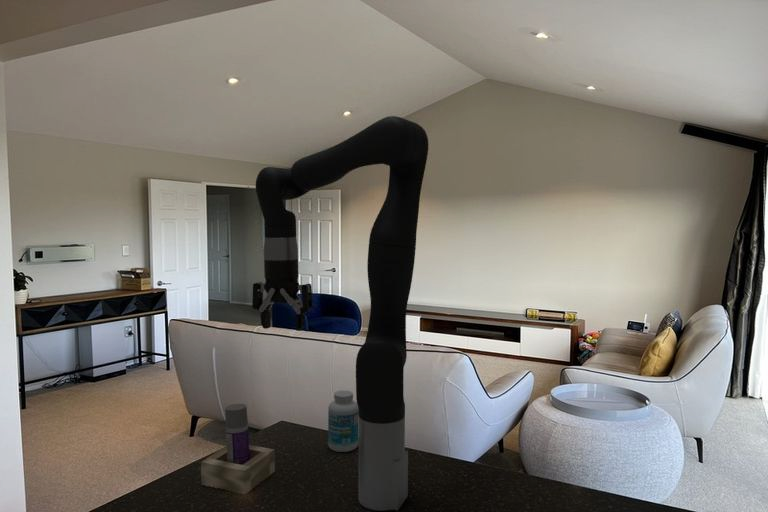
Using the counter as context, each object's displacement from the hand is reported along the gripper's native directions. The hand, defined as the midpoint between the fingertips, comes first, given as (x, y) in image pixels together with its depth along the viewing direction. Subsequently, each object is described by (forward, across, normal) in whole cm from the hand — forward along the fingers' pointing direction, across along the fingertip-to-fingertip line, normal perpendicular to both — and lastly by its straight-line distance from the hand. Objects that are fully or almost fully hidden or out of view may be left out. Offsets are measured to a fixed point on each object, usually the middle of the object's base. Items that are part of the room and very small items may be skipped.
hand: (282, 329), depth 123 cm
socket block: (+31, +6, +10) cm, 33 cm away
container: (+31, +6, +10) cm, 33 cm away
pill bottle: (+32, -9, -13) cm, 35 cm away
